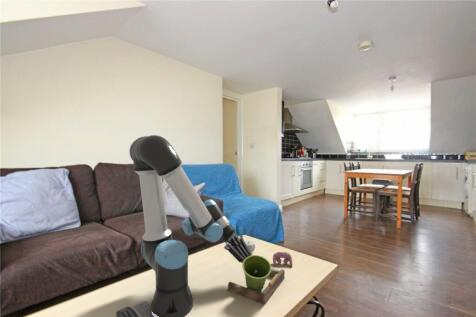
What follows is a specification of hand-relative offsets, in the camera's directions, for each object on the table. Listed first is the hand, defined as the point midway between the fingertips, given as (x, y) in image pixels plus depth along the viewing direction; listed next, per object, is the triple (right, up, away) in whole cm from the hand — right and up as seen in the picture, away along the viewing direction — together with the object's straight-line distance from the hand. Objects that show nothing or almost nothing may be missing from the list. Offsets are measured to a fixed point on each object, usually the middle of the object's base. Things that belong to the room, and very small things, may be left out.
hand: (255, 272), depth 101 cm
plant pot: (-1, -4, -3) cm, 5 cm away
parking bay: (0, -5, +1) cm, 5 cm away
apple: (-2, -4, +31) cm, 32 cm away
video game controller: (+15, -5, +18) cm, 24 cm away
